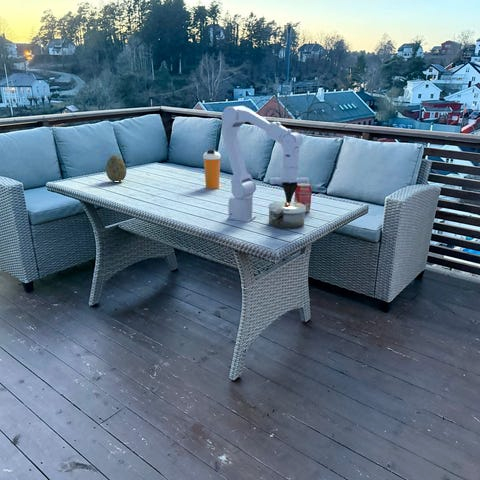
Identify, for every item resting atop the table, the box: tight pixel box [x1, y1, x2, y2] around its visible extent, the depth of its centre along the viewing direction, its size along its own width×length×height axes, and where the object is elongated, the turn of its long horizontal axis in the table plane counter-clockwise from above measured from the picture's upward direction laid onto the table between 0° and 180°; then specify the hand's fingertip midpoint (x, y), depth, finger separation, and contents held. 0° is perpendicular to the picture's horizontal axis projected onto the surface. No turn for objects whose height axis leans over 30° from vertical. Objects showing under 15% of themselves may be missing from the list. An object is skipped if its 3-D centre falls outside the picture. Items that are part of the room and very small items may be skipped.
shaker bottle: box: [202, 148, 221, 190], centre depth 215 cm, size 9×9×20 cm
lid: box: [267, 200, 306, 217], centre depth 159 cm, size 15×19×2 cm
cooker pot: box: [268, 209, 306, 230], centre depth 160 cm, size 14×19×6 cm
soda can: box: [293, 183, 312, 214], centre depth 177 cm, size 7×7×12 cm
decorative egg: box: [105, 154, 127, 182], centre depth 226 cm, size 11×11×15 cm
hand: (288, 202), depth 156 cm, fingers closed
